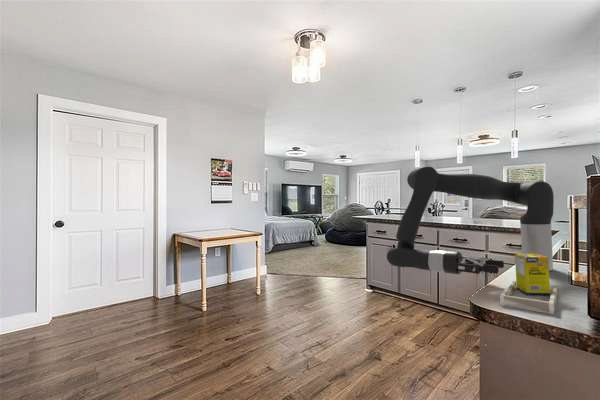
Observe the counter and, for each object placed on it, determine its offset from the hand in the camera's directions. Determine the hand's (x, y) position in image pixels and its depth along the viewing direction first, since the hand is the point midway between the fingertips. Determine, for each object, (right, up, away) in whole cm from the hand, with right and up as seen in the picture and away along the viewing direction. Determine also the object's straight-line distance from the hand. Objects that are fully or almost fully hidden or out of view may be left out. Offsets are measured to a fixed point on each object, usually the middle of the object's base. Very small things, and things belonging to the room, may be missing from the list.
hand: (501, 267), depth 92 cm
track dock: (+2, -6, -10) cm, 12 cm away
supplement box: (+6, -6, -5) cm, 10 cm away
